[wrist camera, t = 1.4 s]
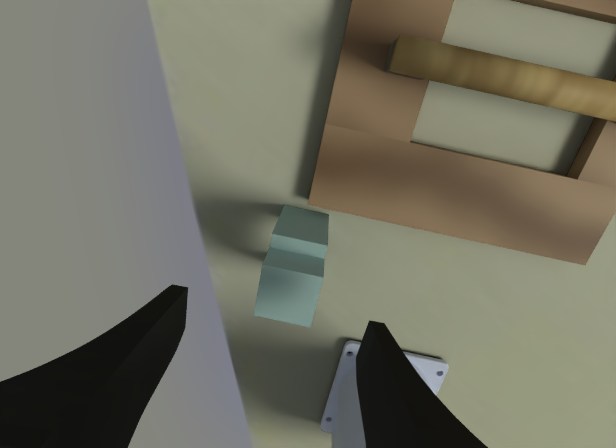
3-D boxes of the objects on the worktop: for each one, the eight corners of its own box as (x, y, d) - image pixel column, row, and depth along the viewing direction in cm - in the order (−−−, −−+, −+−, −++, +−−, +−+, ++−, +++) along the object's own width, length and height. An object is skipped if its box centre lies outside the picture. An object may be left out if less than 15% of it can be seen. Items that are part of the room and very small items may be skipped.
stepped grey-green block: (314, 274, 25) (307, 339, 18) (272, 265, 25) (251, 327, 18) (328, 214, 23) (327, 263, 16) (284, 204, 23) (265, 249, 16)
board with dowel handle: (574, 258, 23) (626, 293, 19) (308, 200, 23) (303, 223, 19) (757, -75, 16) (895, -129, 12) (387, -161, 16) (405, -245, 12)
